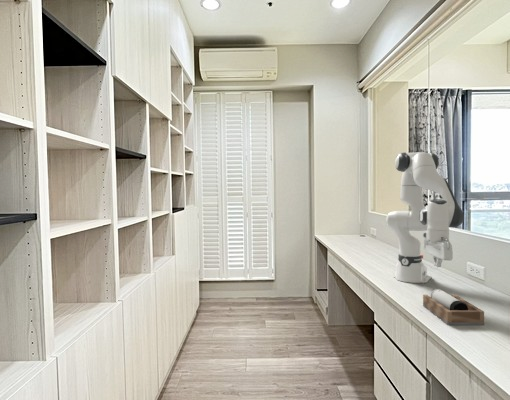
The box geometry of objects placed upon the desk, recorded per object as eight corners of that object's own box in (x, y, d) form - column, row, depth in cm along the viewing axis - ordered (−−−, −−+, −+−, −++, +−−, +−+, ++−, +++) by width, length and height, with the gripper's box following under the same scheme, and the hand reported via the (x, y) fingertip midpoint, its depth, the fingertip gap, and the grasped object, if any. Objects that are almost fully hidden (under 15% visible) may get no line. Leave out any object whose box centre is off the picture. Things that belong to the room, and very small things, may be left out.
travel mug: (435, 285, 167) (459, 299, 147) (446, 294, 167) (472, 309, 147) (426, 296, 168) (450, 312, 148) (438, 305, 168) (463, 321, 148)
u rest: (423, 306, 166) (423, 294, 166) (454, 305, 166) (455, 294, 165) (447, 325, 144) (447, 311, 144) (484, 324, 144) (484, 311, 143)
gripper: (457, 239, 156) (456, 271, 156) (434, 232, 176) (434, 261, 177) (441, 239, 156) (441, 272, 156) (421, 233, 176) (420, 261, 177)
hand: (437, 266), depth 167 cm, fingers closed
